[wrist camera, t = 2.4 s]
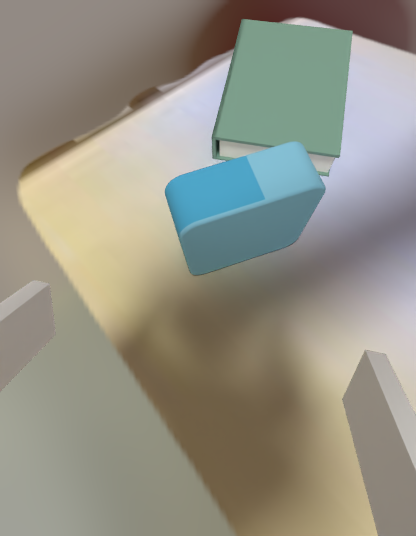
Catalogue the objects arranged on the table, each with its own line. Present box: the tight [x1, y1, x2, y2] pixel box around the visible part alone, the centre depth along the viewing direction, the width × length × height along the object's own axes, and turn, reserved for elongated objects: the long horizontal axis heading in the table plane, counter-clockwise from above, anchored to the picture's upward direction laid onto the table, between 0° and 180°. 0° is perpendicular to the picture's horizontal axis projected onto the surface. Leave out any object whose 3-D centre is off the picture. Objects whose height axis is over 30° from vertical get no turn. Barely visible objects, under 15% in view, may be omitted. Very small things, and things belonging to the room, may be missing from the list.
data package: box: [165, 141, 325, 275], centre depth 29 cm, size 12×4×12 cm, turn 108°
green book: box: [212, 19, 352, 176], centre depth 39 cm, size 14×19×4 cm
